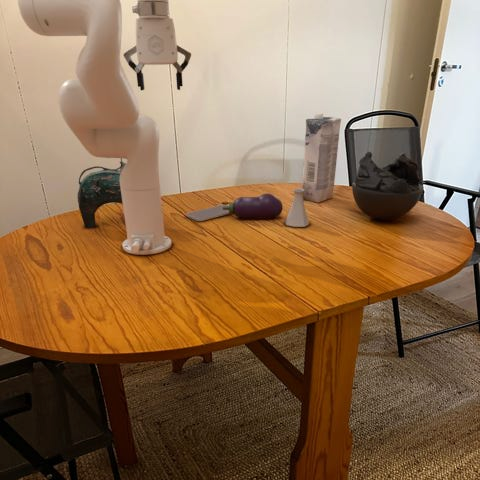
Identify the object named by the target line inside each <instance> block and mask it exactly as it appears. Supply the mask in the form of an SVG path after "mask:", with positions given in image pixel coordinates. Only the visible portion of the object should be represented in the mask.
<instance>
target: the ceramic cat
mask: <svg viewBox="0 0 480 480" xmlns="http://www.w3.org/2000/svg"><path fill="white" fill-rule="evenodd" d="M126 163H127V162H124V161H123V158H120V161H119V164H120V166H119V167H117V168H108V167H105V166H104V167H103V166H98V165H97V166H90V167H87V168H86V169H84V170H83V171H81V173H80V175H79V178H78V185H79V187H78V191H77V203H78V209H79V213H80V215H81V219H82V222H83V225H84V228H85V229H92V228H96V227H97V221H96V216H95V215H96V212H97V211H98V209H99V208H100V207H102V206H104V205H106V204H123V202H122V195H121V188H120V174H121V172H122V170H123V168H124V167H125V165H126ZM93 169H102V170H97V171H93V172H90V173H88V174H87V175H85V176H84V177H83V175H84V174H85V173H86V172H87V171H90V170H93ZM82 177H83V179H82ZM81 179H82V180H81Z"/></svg>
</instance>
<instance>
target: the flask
mask: <svg viewBox="0 0 480 480" xmlns="http://www.w3.org/2000/svg"><path fill="white" fill-rule="evenodd" d="M293 192H294V193H293V200H292V204H291V207H290V209H289V211H288V214H287V216H286V218H285V221H284V223H285V225H286V226H290V227H294V228H304V227H307V226H308V225H310V222H309V218H308V213H307V211H306V206H305V200H304V199H303V194H304V192H305V190H304V189H302V188H294V189H293Z"/></svg>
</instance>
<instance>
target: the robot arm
mask: <svg viewBox="0 0 480 480" xmlns="http://www.w3.org/2000/svg"><path fill="white" fill-rule="evenodd" d="M169 3H170V2H169V0H137V4H136V5H135V6H132V7H131V10H132V11H131V12H132V13H133V14H137V15H138V18H135V45H134V46H133V47H132V48H130V49H128V50H127V51H125V52H124V53H123V58H124V59H125V61H126V63H127V64H128V66H129V67H130V68H131V69H132V70H133V71H134V73H136V82H137V83H136V84H137V87H138V88H140V91H144V90H145V81H144V79H145V78H144V73H143V72H142V71H143V68H144V67H145V65H147V66H151V65H153V66H155V65H164V66H165V65H172V66H173V67H174V68H175V70H176V73H175V76H176V77H175V80H176V90H177V91H180V90H181V87H183V86H184V84H183V71H184V70H185V69H186V68H187V67H188V65H189V62H190V60H191V57H192V53H191V52H190V51H188V50H186V49H185V48H183V47H181V46H180V45H178V44H177V43H178V42H177V35H176V29H175V23H174V20H173V18H171V17H170V4H169ZM17 5H18V9H19V12H20V13H19V14H20V16H21V18H22V20H23V22H24V23H25V25H26V27H28V28H29V29H30V30H31V31H32V32H33V33H35V34H37V35H40V36H45V37H86V40H85V43H84V45H83V47H82V48H81V50H80V52H79V54H78V57H77V59H76V64H75V74H76V77H77V78H76V77H75V78H70V79H67V80H66V81H64V82H63V83H62V84H61V86H60V88H59V90H58V106H59V110H60V113H61V115H62V118H63V120H64V122H65V124H66V125H67V127H68V128H69V129H70V131H71V132H72V134H73V135H74V136H75V138H76V139H77V140H78V141H79V143H80V144H81V145H82V146H83V148H84V149H85V150H86V151H87V152H88V153H89V154H90V155H92V156H93V157H96V158H102V159H103V158H104V159H105V158H106V159H124V160H125V159H126V162H125V163H126V165H125V167H124V168H123V170H122V172H121V174H120V188H121V195H122V202H123V203H122V208H123V209H122V210H123V216H124V222H125V229H126V239H125V240H124V241H122V249H123V251H124V252H126V253H128V254H132V255H138V256H140V255H141V256H147V255H154V254H155V255H156V254H159V253H163V252H165V251H167V250H169V249H170V248H171V247H172V239H171V238H170V237H169V236H168V235H167V236H166V234H165V223H164V213H163V203H162V192H161V191H162V190H161V183H160V182H161V181H160V170H159V169H160V168H159V155H160V154H159V152H160V150H159V149H160V128H159V126H158V123H157V122H156V121H155V120H154V119H153V118H152V117H151V116H149V115H146V114H141V113H140V104H139V102H138V99H137V96H136V94H135V92H134V90H133V88H132V86H131V84H130V81H129V79H128V77H127V75H126V73H125V71H124V68H123V66H122V63H121V49H122V33H123V32H122V31H123V29H122V28H123V17H122V15H123V14H122V3H121V0H17ZM178 53H179V54H180V55H183V56H184V60H183V62H182V63H181V64H180V63H179V62H178V59H179V56H178V55H179V54H178ZM135 54H136V59H137V62H138V63H137V64H136V63H135V62H134V60H133V59H132V56H134V55H135Z"/></svg>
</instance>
